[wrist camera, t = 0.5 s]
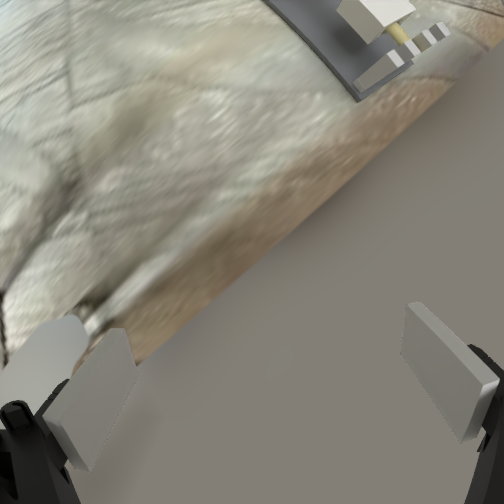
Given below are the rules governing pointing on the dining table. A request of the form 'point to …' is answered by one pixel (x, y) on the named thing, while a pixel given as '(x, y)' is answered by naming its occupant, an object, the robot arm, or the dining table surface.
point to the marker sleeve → (374, 15)
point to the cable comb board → (354, 44)
